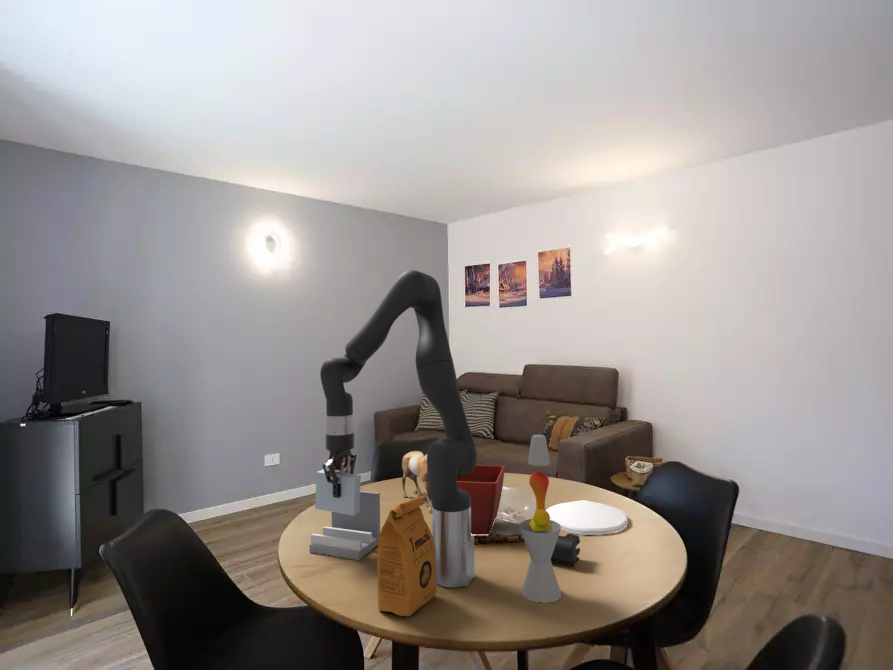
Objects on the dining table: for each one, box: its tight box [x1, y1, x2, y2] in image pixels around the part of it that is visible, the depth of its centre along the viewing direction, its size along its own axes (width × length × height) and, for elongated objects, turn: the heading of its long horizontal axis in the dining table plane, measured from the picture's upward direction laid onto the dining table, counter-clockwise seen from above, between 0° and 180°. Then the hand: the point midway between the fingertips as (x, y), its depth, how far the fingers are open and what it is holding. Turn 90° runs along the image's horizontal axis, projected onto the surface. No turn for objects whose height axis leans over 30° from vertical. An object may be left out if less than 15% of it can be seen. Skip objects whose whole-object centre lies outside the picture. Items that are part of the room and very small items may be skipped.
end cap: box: [551, 533, 581, 567], centre depth 132 cm, size 10×7×7 cm
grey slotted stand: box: [308, 490, 381, 561], centre depth 142 cm, size 15×12×14 cm
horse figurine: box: [401, 450, 432, 514], centre depth 180 cm, size 31×8×21 cm, turn 28°
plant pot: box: [456, 464, 506, 534], centre depth 155 cm, size 19×19×17 cm
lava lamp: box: [519, 434, 562, 604], centre depth 115 cm, size 9×9×35 cm
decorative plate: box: [545, 499, 629, 536], centre depth 160 cm, size 25×4×25 cm
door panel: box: [314, 468, 362, 516], centre depth 141 cm, size 12×3×10 cm, turn 70°
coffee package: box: [376, 496, 437, 617], centre depth 111 cm, size 10×12×22 cm
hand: (340, 495), depth 140 cm, fingers closed on door panel, 3 cm apart
